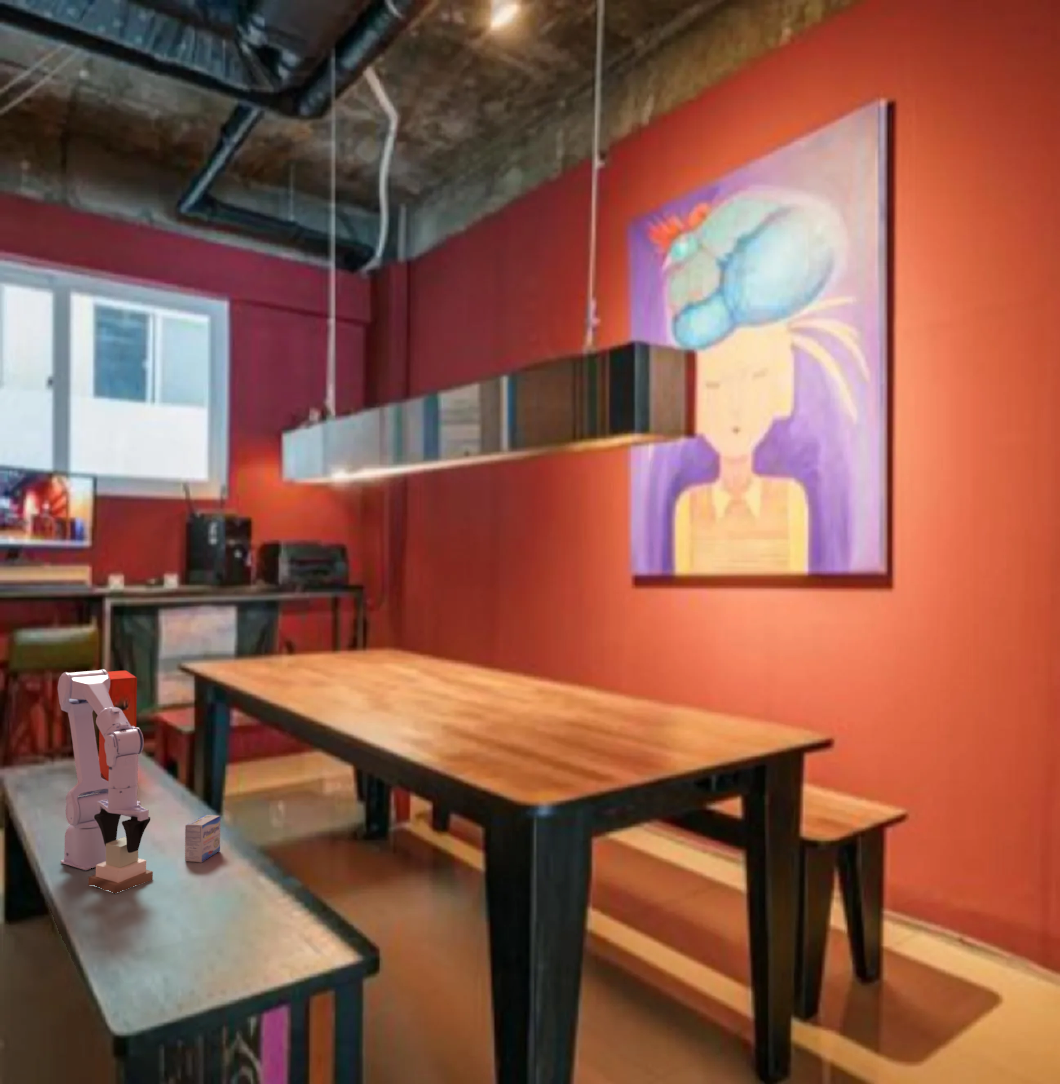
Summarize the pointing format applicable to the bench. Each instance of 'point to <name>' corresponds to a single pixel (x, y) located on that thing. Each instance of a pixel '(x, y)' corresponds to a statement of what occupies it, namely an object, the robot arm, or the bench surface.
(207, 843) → the medicine box
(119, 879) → the cream top slab
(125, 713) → the file binder
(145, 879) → the walnut base slab
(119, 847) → the beige cube
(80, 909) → the bench surface
